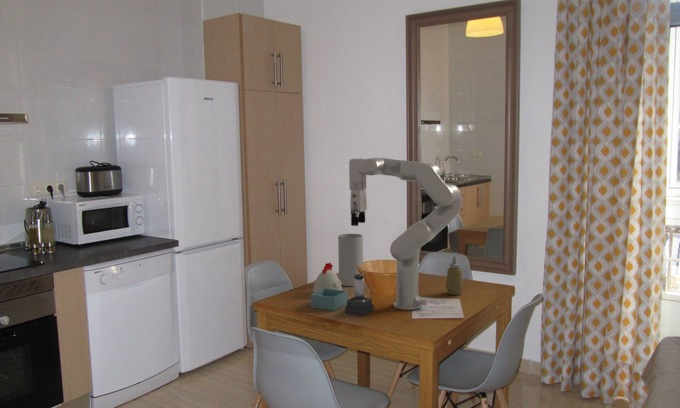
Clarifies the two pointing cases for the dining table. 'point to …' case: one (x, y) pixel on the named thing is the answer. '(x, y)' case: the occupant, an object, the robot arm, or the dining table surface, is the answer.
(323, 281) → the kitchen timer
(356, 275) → the pepper mill
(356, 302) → the square recessed block
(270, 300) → the dining table surface
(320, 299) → the bin
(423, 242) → the robot arm
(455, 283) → the squeeze bottle
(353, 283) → the cylinder vase
